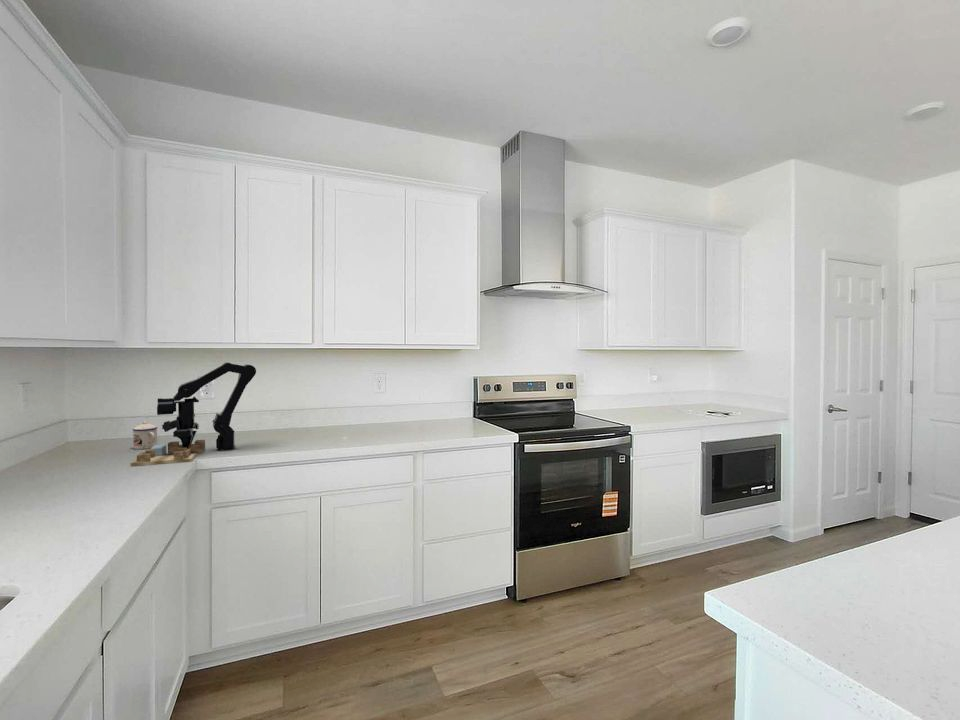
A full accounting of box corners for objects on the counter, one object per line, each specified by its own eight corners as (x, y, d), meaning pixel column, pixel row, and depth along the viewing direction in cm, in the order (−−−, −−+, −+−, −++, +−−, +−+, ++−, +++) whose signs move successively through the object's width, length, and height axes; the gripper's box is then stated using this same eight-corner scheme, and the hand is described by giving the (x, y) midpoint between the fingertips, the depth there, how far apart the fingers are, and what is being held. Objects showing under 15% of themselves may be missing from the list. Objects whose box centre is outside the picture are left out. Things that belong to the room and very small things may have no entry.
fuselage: (205, 450, 203) (205, 439, 203) (203, 452, 199) (203, 441, 199) (170, 453, 198) (169, 441, 198) (167, 455, 194) (167, 443, 194)
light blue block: (166, 453, 198) (166, 444, 198) (162, 457, 191) (161, 448, 191) (155, 454, 197) (155, 445, 196) (150, 458, 190) (150, 448, 189)
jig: (195, 456, 193) (195, 446, 193) (191, 461, 184) (191, 451, 184) (137, 460, 185) (137, 450, 185) (130, 466, 177) (130, 455, 177)
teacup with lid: (128, 448, 207) (128, 422, 207) (151, 444, 215) (150, 419, 215) (142, 451, 201) (142, 424, 201) (165, 447, 209) (164, 421, 209)
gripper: (169, 411, 203) (169, 446, 204) (158, 417, 186) (158, 456, 187) (198, 409, 208) (199, 444, 208) (190, 415, 190) (190, 453, 191)
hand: (186, 449), depth 198 cm, fingers closed on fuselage, 4 cm apart
